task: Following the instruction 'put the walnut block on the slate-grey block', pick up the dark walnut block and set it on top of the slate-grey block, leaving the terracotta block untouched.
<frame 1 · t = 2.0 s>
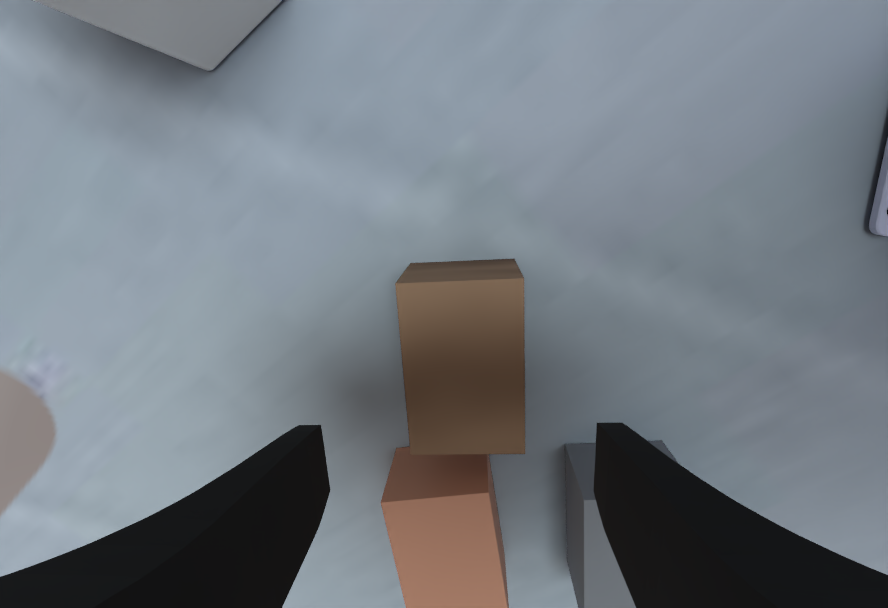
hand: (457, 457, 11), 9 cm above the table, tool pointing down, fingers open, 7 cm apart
walnut block: (465, 335, 20), on the table
grey block: (610, 500, 22), on the table
terracotta block: (452, 499, 23), on the table
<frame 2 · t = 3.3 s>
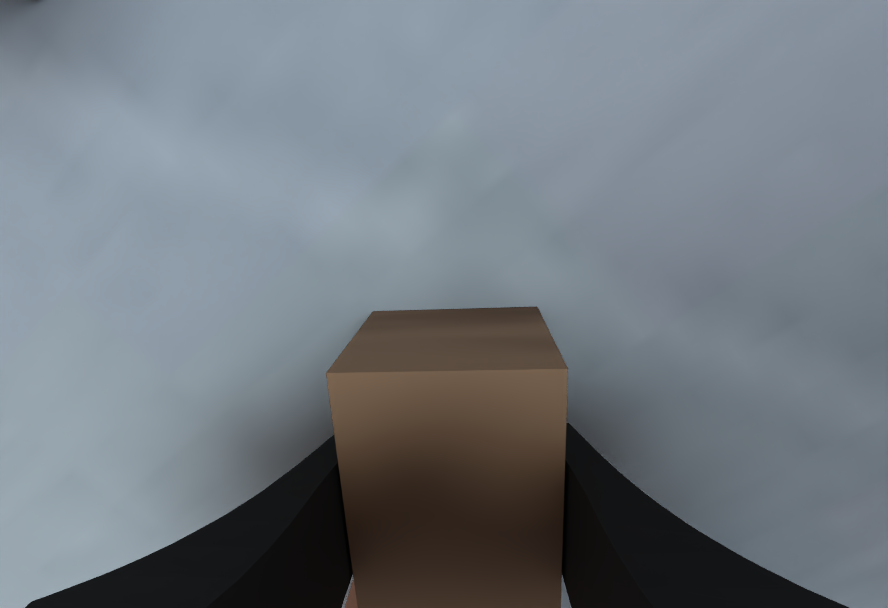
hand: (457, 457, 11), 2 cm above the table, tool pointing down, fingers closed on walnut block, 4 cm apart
walnut block: (458, 422, 13), on the table, touching gripper
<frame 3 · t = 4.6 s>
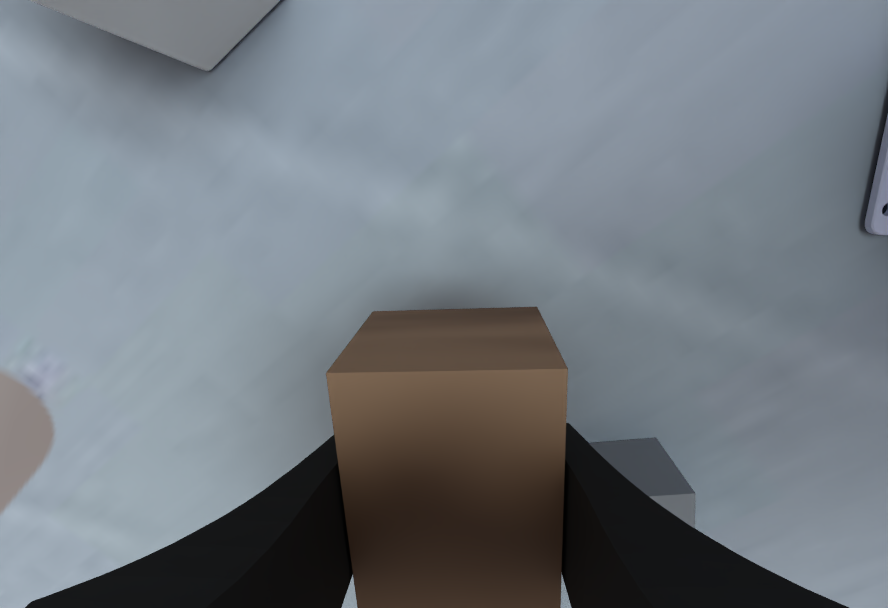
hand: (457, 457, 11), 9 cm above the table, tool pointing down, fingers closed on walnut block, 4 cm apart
walnut block: (458, 422, 13), point 7 cm above the table, touching gripper
grey block: (608, 499, 22), on the table
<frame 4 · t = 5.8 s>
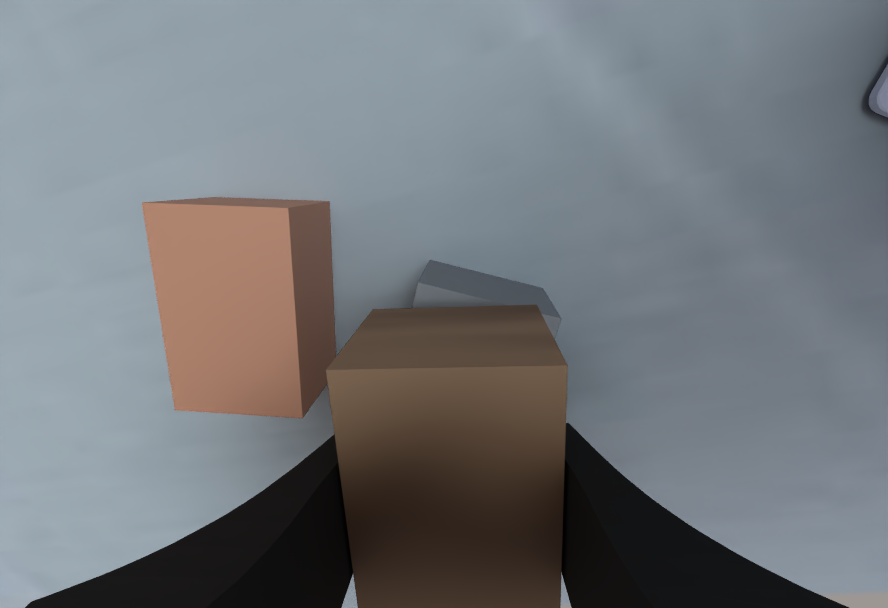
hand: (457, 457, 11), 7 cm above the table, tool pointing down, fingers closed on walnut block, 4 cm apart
walnut block: (458, 420, 13), point 5 cm above the table, touching gripper
grey block: (464, 353, 18), on the table
terracotta block: (280, 287, 18), on the table
when the fingers open (6 cm above the table, at t = 6.3 s): walnut block stays where it is, resting on grey block.
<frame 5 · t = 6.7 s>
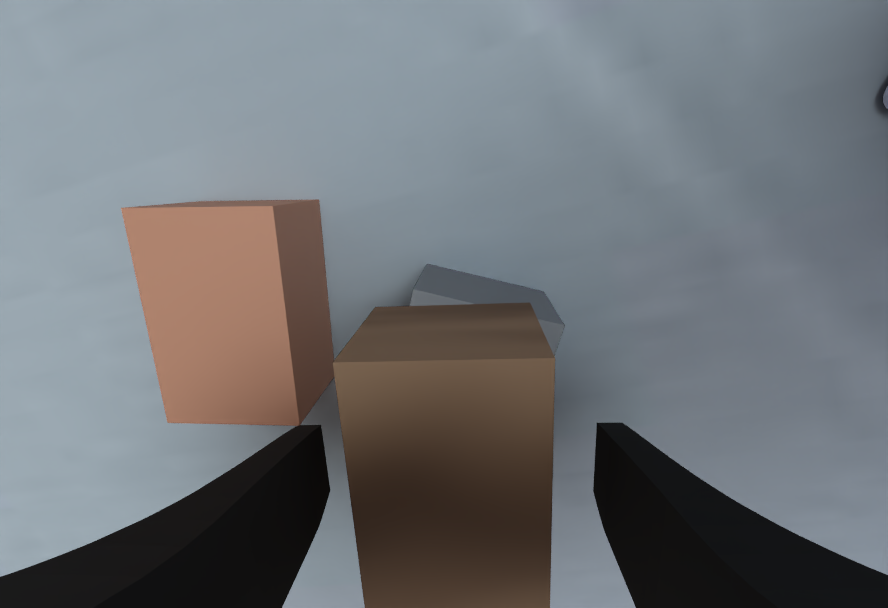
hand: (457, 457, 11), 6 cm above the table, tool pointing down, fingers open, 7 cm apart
walnut block: (456, 412, 14), point 4 cm above the table, touching grey block
grey block: (463, 360, 17), on the table, touching walnut block
terracotta block: (273, 291, 17), on the table
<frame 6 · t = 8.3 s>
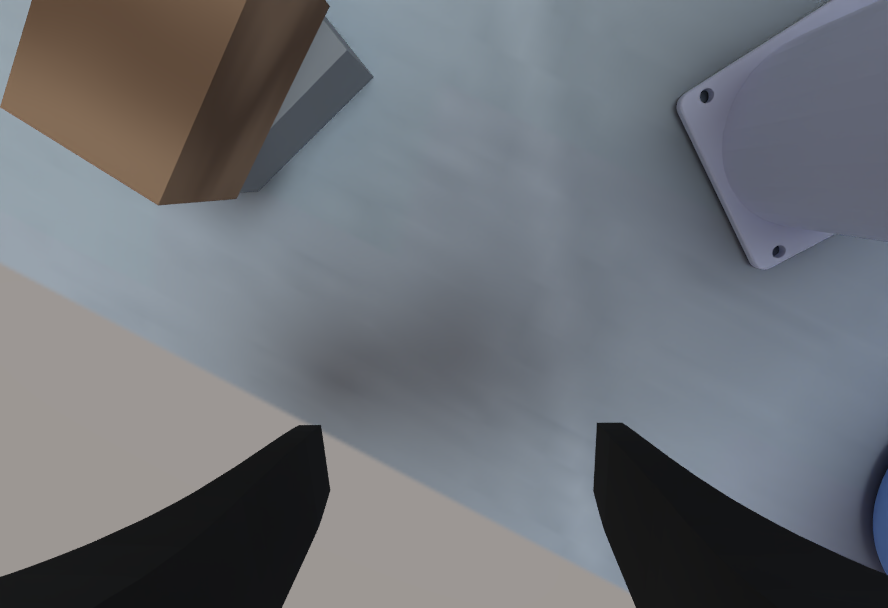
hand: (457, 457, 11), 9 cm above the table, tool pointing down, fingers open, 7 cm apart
walnut block: (220, 68, 14), point 4 cm above the table
grey block: (277, 93, 18), on the table
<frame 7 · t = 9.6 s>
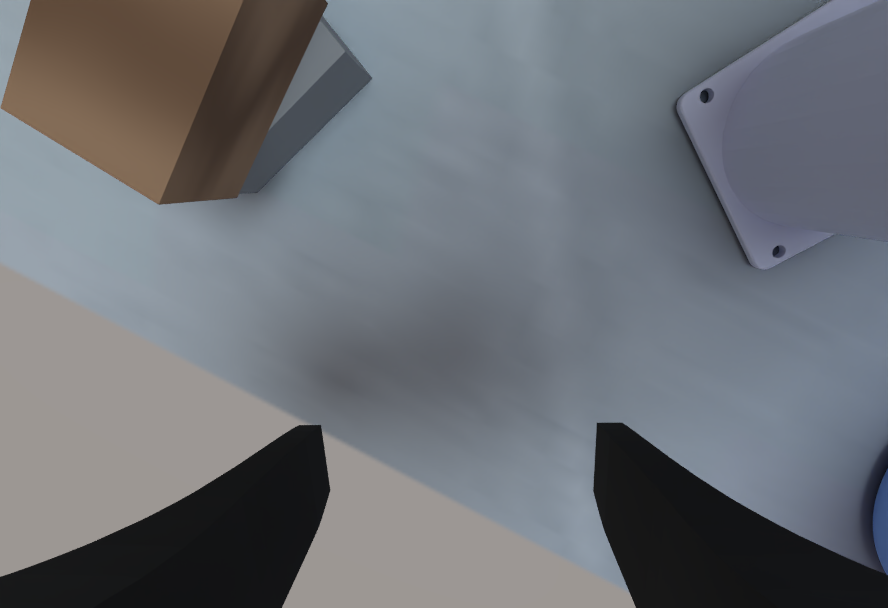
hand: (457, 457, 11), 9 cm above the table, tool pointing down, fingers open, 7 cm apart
walnut block: (219, 67, 14), point 4 cm above the table, touching grey block
grey block: (276, 94, 18), on the table, touching walnut block
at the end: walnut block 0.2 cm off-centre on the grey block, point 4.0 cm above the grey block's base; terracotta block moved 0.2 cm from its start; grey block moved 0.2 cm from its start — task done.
